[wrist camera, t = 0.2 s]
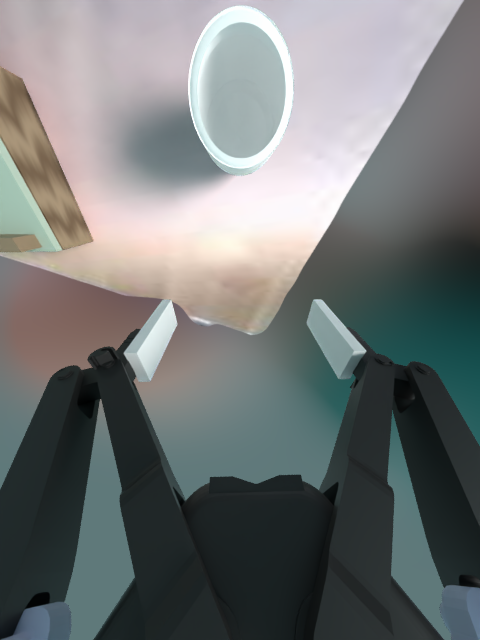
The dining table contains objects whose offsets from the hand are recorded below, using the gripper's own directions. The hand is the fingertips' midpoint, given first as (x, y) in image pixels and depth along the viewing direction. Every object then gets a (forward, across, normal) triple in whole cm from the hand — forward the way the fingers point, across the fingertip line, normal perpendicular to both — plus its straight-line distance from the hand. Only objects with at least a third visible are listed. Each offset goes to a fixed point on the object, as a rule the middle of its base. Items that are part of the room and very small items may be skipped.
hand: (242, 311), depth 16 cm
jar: (+28, 0, +17) cm, 33 cm away
